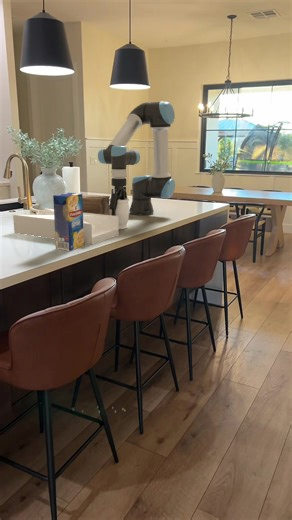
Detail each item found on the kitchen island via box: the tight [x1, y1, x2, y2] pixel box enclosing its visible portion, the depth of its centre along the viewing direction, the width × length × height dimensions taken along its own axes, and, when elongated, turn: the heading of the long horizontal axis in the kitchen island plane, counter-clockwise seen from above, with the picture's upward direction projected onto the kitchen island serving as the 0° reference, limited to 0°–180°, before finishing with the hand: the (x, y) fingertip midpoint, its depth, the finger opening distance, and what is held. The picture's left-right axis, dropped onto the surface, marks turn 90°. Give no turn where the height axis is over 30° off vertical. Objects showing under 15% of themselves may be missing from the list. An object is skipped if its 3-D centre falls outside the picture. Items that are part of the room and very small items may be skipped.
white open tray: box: [12, 208, 120, 245], centre depth 195 cm, size 45×22×10 cm, turn 63°
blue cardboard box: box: [52, 192, 85, 252], centre depth 169 cm, size 7×11×22 cm, turn 157°
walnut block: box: [82, 194, 111, 215], centre depth 213 cm, size 14×14×15 cm
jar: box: [109, 197, 130, 230], centre depth 210 cm, size 11×10×15 cm
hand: (119, 220), depth 211 cm, fingers open, 12 cm apart
